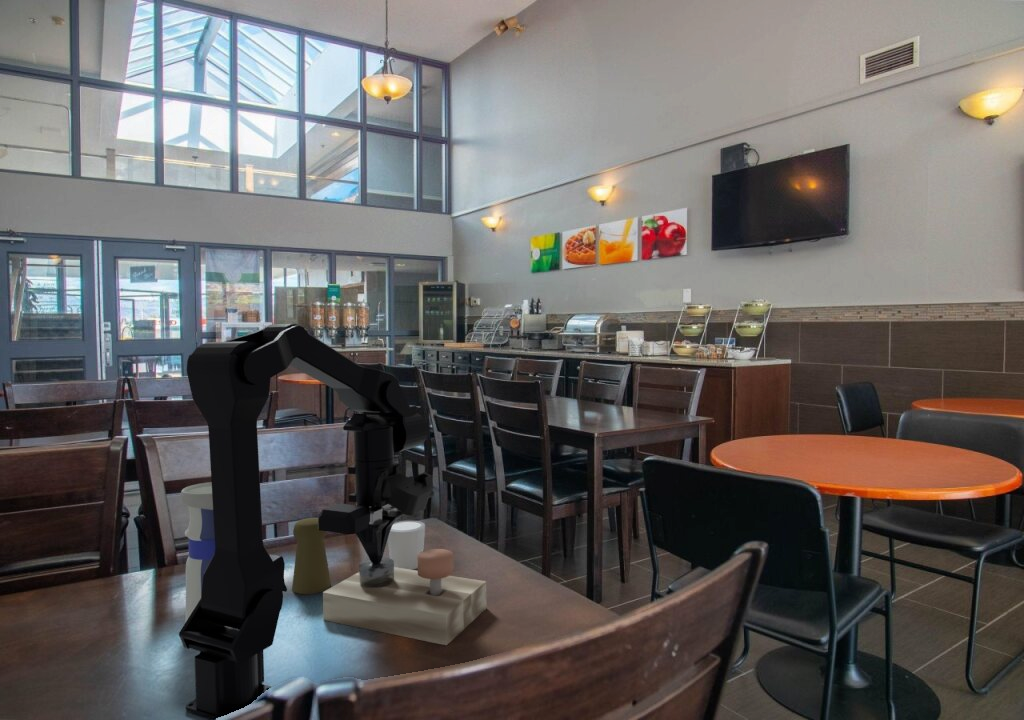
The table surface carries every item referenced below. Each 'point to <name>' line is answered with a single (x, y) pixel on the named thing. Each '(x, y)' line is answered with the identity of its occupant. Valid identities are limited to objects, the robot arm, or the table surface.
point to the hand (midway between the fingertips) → (376, 563)
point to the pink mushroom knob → (435, 567)
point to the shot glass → (406, 543)
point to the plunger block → (407, 606)
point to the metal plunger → (376, 572)
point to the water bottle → (198, 540)
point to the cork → (310, 558)
